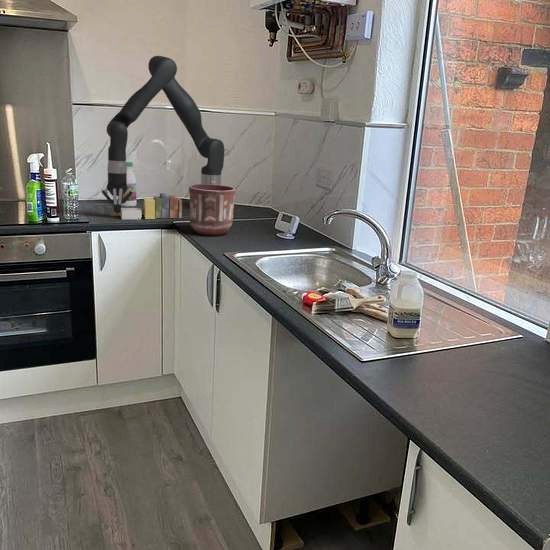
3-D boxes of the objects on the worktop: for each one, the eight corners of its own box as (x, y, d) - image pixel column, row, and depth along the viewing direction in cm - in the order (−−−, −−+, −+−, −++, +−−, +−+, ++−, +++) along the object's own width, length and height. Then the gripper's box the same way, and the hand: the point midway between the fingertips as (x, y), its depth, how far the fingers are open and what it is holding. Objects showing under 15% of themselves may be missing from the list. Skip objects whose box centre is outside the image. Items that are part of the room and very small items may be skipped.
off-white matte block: (139, 217, 245) (139, 207, 244) (141, 219, 240) (141, 210, 239) (120, 217, 243) (120, 208, 241) (122, 220, 237) (121, 210, 236)
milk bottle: (118, 204, 269) (117, 161, 263) (134, 203, 272) (134, 161, 266) (121, 207, 262) (120, 163, 256) (138, 206, 265) (137, 163, 260)
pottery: (196, 238, 213) (198, 190, 208) (182, 228, 228) (183, 183, 223) (240, 237, 221) (242, 190, 216) (223, 227, 236) (225, 183, 231)
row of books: (180, 215, 253) (180, 192, 250) (184, 218, 246) (184, 195, 243) (110, 215, 243) (110, 192, 240) (112, 219, 236) (111, 195, 233)
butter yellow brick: (153, 217, 246) (153, 198, 243) (154, 219, 241) (155, 200, 239) (143, 217, 244) (143, 198, 242) (145, 219, 240) (145, 200, 237)
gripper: (101, 172, 228) (101, 214, 233) (134, 173, 232) (134, 214, 237) (99, 169, 235) (100, 211, 239) (132, 170, 239) (132, 211, 244)
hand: (117, 212), depth 238 cm, fingers closed
